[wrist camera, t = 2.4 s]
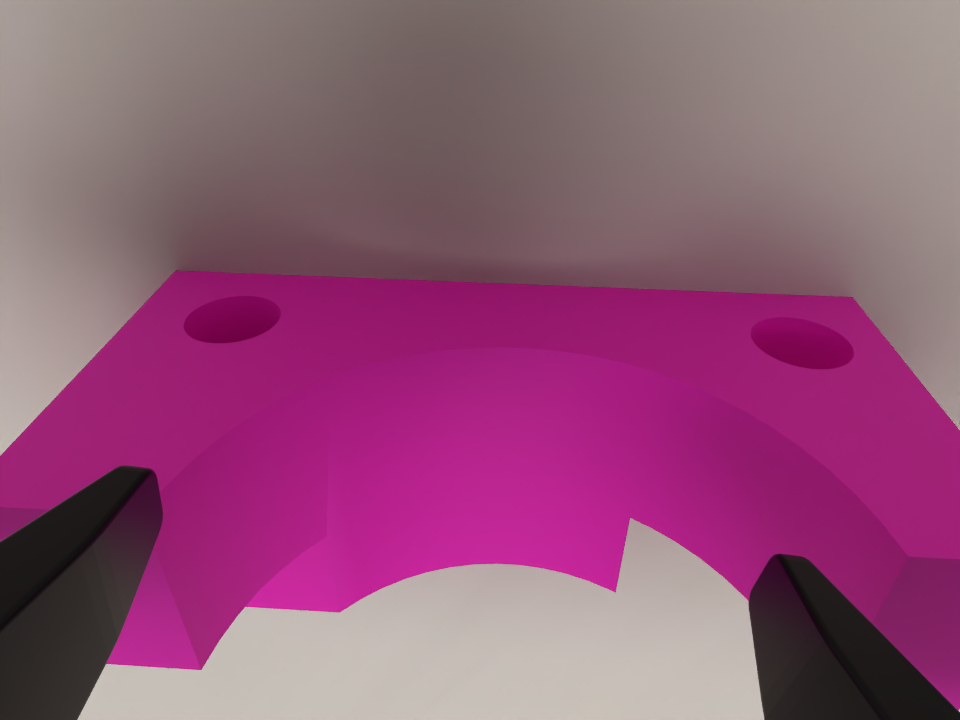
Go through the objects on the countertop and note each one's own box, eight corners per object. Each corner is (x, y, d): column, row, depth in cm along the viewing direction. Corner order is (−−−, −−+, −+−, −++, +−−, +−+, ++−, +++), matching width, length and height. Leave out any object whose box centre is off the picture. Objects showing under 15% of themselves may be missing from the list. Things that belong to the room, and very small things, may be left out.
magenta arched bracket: (233, 465, 19) (92, 736, 13) (181, 264, 16) (-46, 504, 10) (774, 492, 19) (896, 791, 12) (846, 290, 15) (1067, 564, 9)
